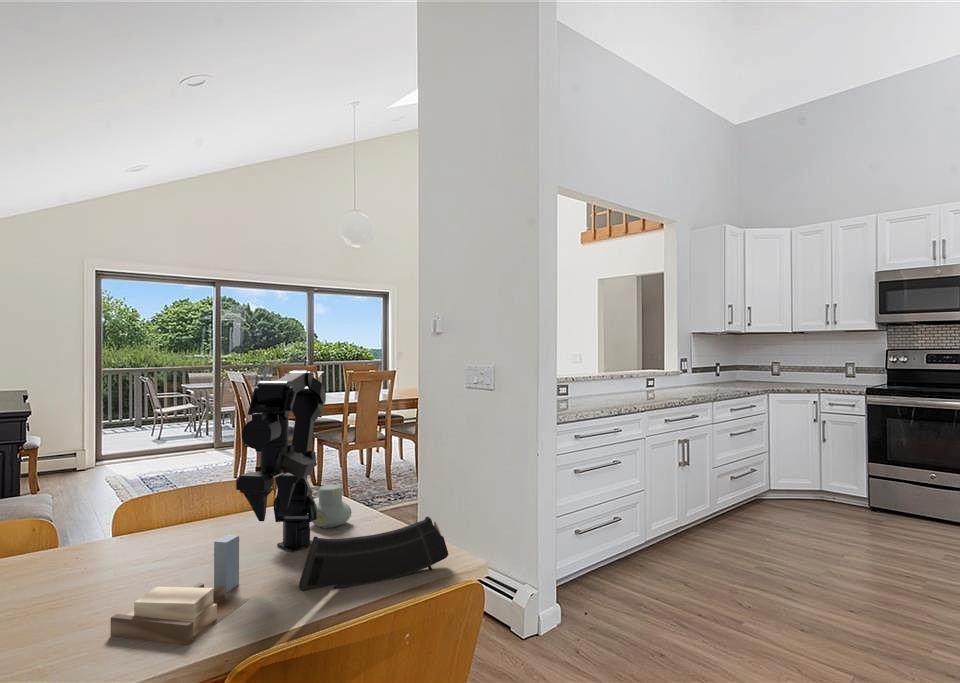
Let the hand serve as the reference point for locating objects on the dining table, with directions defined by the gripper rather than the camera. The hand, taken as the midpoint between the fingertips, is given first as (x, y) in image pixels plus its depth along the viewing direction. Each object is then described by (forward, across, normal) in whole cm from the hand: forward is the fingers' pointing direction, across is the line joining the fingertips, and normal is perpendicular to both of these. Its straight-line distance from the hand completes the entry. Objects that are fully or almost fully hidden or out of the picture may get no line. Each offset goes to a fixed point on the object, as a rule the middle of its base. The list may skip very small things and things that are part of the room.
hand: (273, 514), depth 121 cm
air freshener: (+12, +32, +2) cm, 34 cm away
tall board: (+12, -11, +3) cm, 17 cm away
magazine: (+12, +1, -23) cm, 26 cm away
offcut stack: (+11, -26, +3) cm, 28 cm away
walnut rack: (+12, -23, +3) cm, 26 cm away
